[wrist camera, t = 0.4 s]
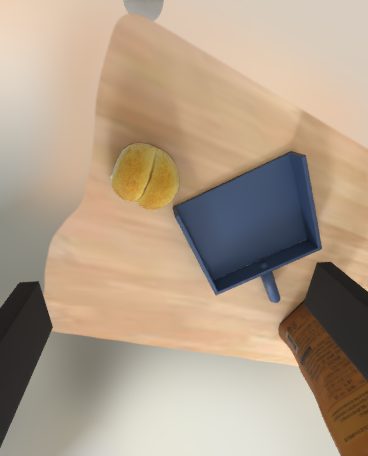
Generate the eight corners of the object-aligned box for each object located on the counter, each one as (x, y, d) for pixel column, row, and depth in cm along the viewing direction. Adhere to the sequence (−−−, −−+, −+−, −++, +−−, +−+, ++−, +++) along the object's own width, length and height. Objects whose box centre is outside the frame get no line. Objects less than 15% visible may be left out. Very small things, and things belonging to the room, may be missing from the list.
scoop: (172, 207, 36) (175, 216, 32) (291, 151, 34) (305, 155, 31) (226, 312, 47) (232, 326, 44) (316, 273, 46) (328, 285, 43)
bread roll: (162, 213, 36) (164, 224, 32) (105, 187, 33) (100, 196, 29) (189, 164, 33) (194, 170, 29) (129, 131, 30) (127, 134, 26)
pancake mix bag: (261, 334, 52) (365, 538, 27) (324, 272, 46) (530, 461, 21) (282, 342, 54) (394, 537, 30) (344, 284, 49) (550, 467, 24)
